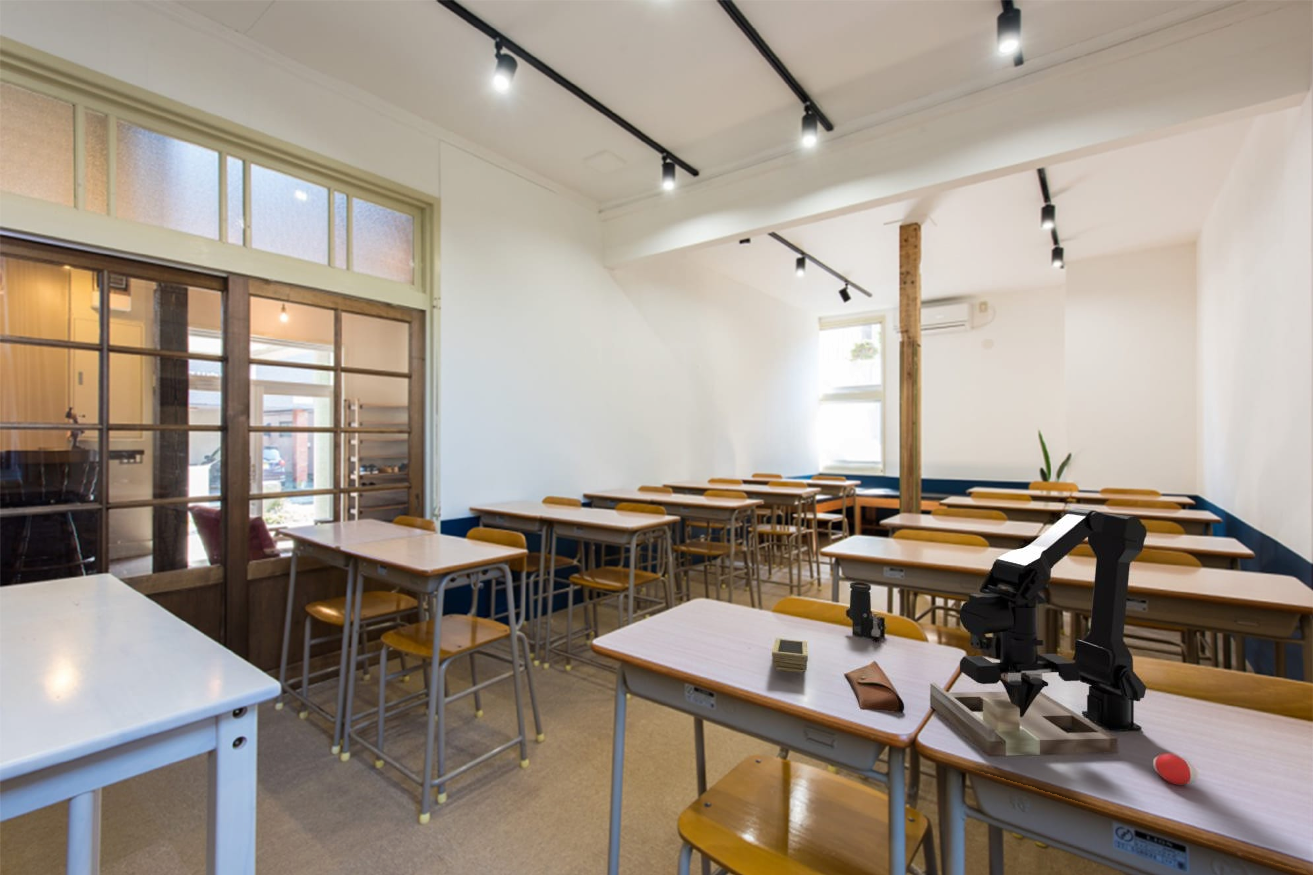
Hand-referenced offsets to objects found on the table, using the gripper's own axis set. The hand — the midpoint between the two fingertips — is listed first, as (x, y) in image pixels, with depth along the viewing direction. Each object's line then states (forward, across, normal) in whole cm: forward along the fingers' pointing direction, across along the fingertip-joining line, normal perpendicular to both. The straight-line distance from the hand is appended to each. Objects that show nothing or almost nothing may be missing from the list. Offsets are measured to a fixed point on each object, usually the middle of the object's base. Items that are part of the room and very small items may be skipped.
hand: (1019, 715), depth 99 cm
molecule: (+5, -16, +13) cm, 21 cm away
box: (+4, +31, -35) cm, 47 cm away
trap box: (+4, -2, -4) cm, 6 cm away
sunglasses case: (+4, +18, -20) cm, 27 cm away
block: (+2, +3, 0) cm, 4 cm away
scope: (+4, +5, -53) cm, 53 cm away
